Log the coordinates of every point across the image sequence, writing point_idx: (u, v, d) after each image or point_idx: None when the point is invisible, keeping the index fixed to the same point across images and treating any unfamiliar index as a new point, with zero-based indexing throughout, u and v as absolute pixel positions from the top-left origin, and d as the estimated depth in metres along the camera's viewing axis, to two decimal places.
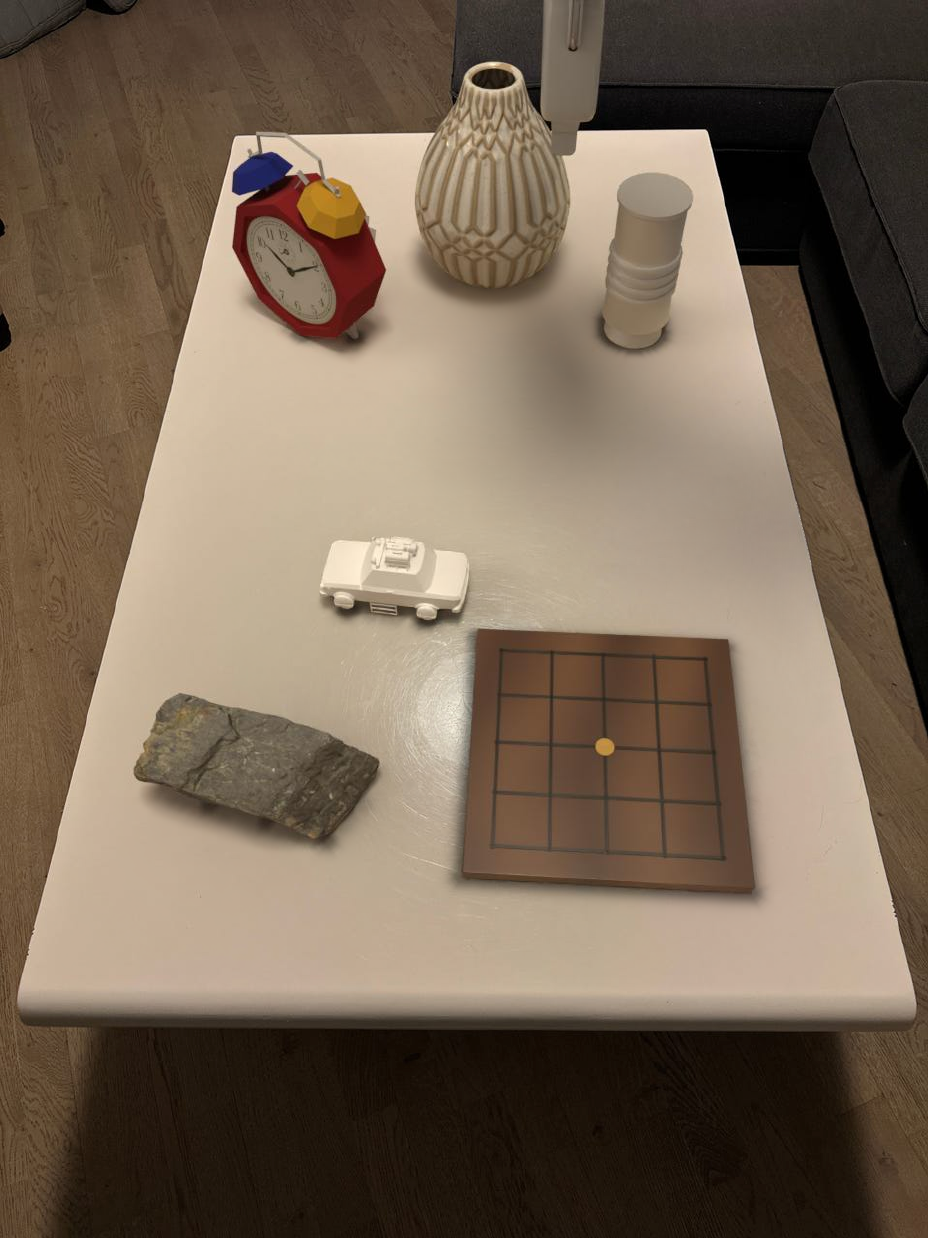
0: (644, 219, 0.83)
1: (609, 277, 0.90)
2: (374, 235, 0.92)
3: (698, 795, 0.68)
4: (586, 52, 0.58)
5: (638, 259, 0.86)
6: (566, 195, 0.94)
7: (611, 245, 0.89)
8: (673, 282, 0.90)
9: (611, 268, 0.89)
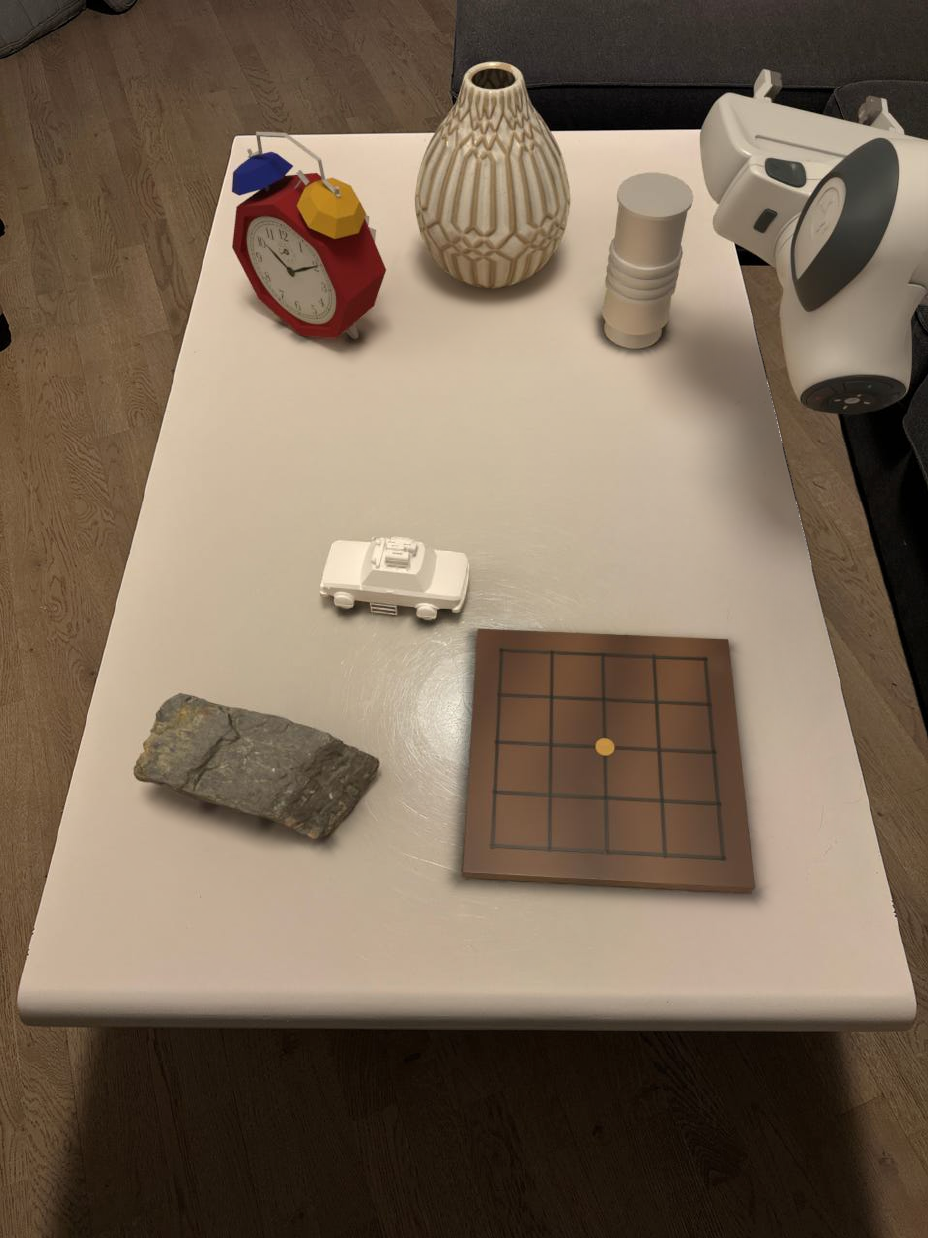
0: (644, 219, 0.83)
1: (609, 277, 0.90)
2: (374, 235, 0.92)
3: (698, 795, 0.68)
4: None
5: (638, 259, 0.86)
6: (566, 195, 0.94)
7: (611, 245, 0.89)
8: (673, 282, 0.90)
9: (611, 268, 0.89)
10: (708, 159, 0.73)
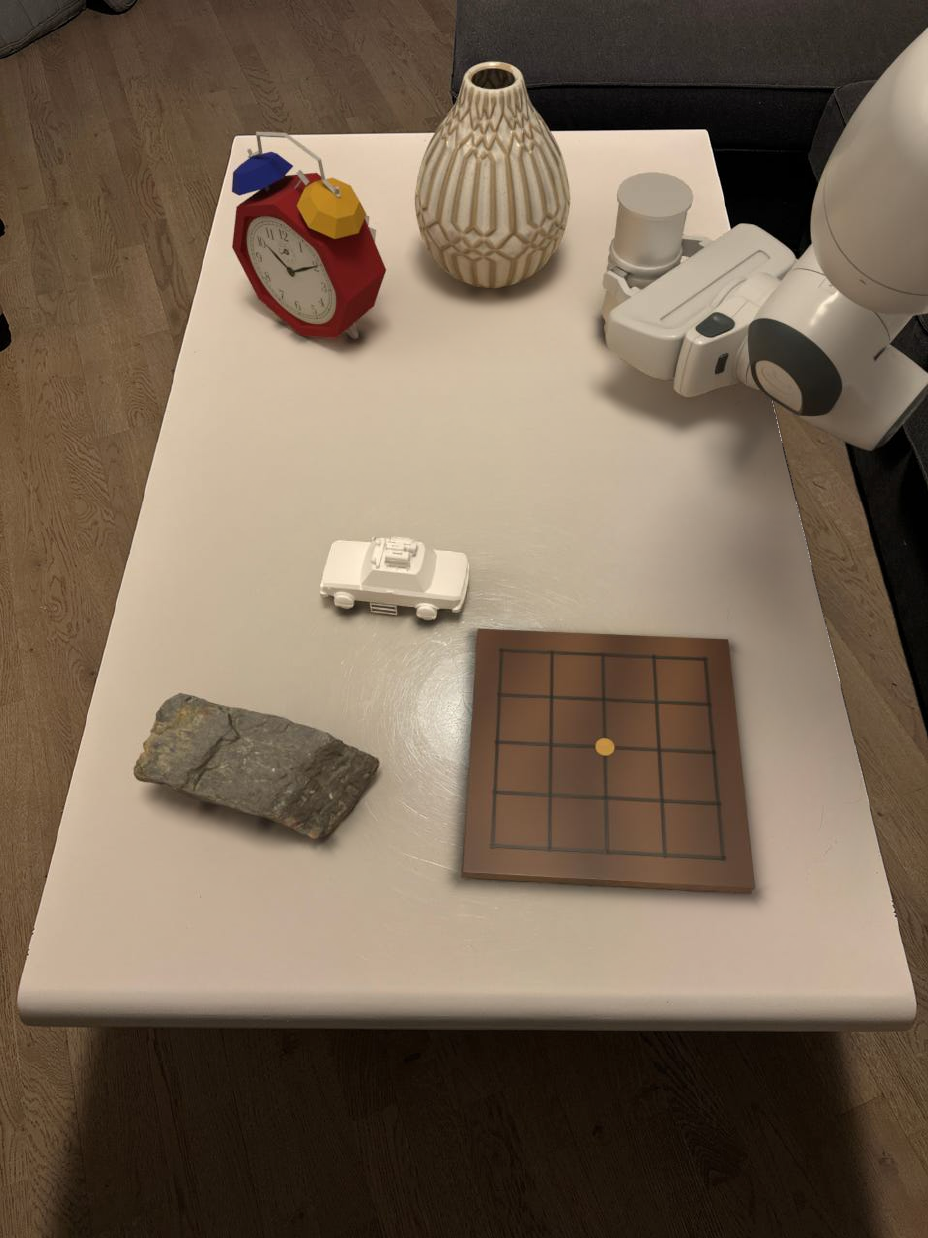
0: (644, 219, 0.83)
1: None
2: (374, 235, 0.92)
3: (698, 795, 0.68)
4: None
5: (638, 259, 0.86)
6: (566, 195, 0.94)
7: (611, 245, 0.89)
8: None
9: (611, 268, 0.89)
10: (639, 360, 0.84)
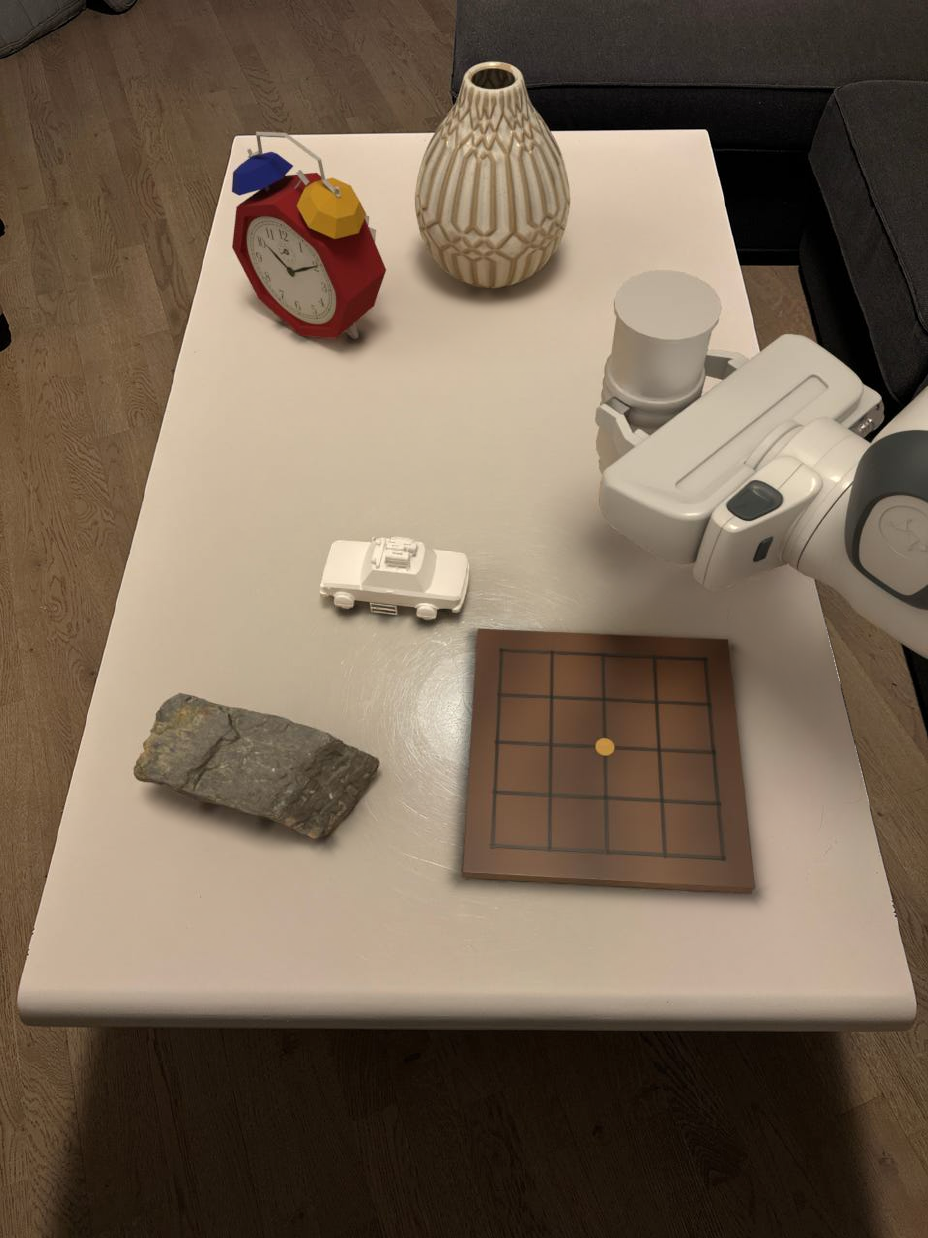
0: (651, 342, 0.59)
1: None
2: (374, 235, 0.92)
3: (698, 795, 0.68)
4: None
5: (644, 390, 0.62)
6: (566, 195, 0.94)
7: (607, 366, 0.65)
8: None
9: (607, 397, 0.65)
10: (645, 539, 0.59)
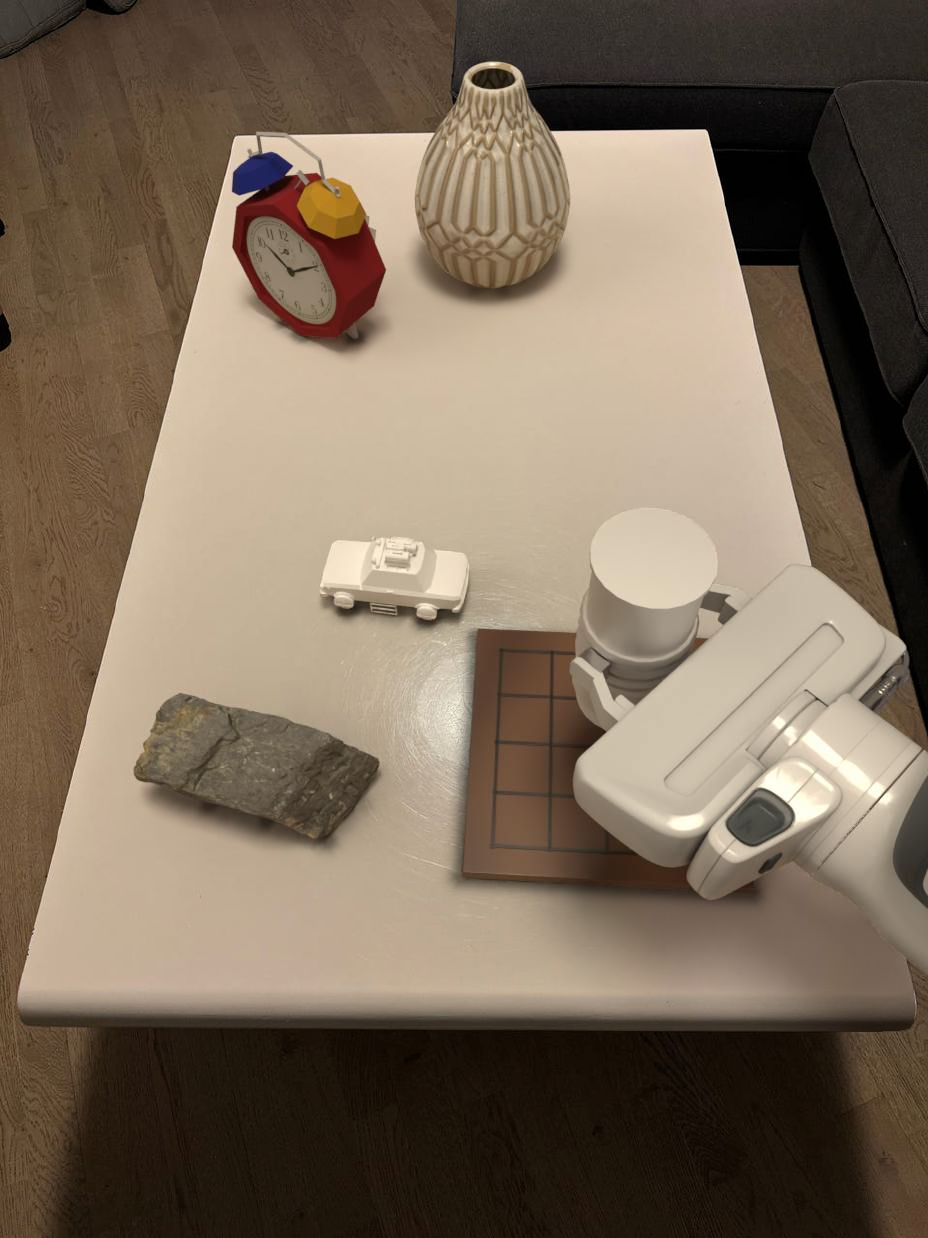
0: (635, 608, 0.49)
1: (580, 650, 0.56)
2: (374, 235, 0.92)
3: None
4: None
5: (626, 648, 0.52)
6: (566, 195, 0.94)
7: (583, 608, 0.55)
8: None
9: (583, 643, 0.55)
10: (628, 840, 0.50)
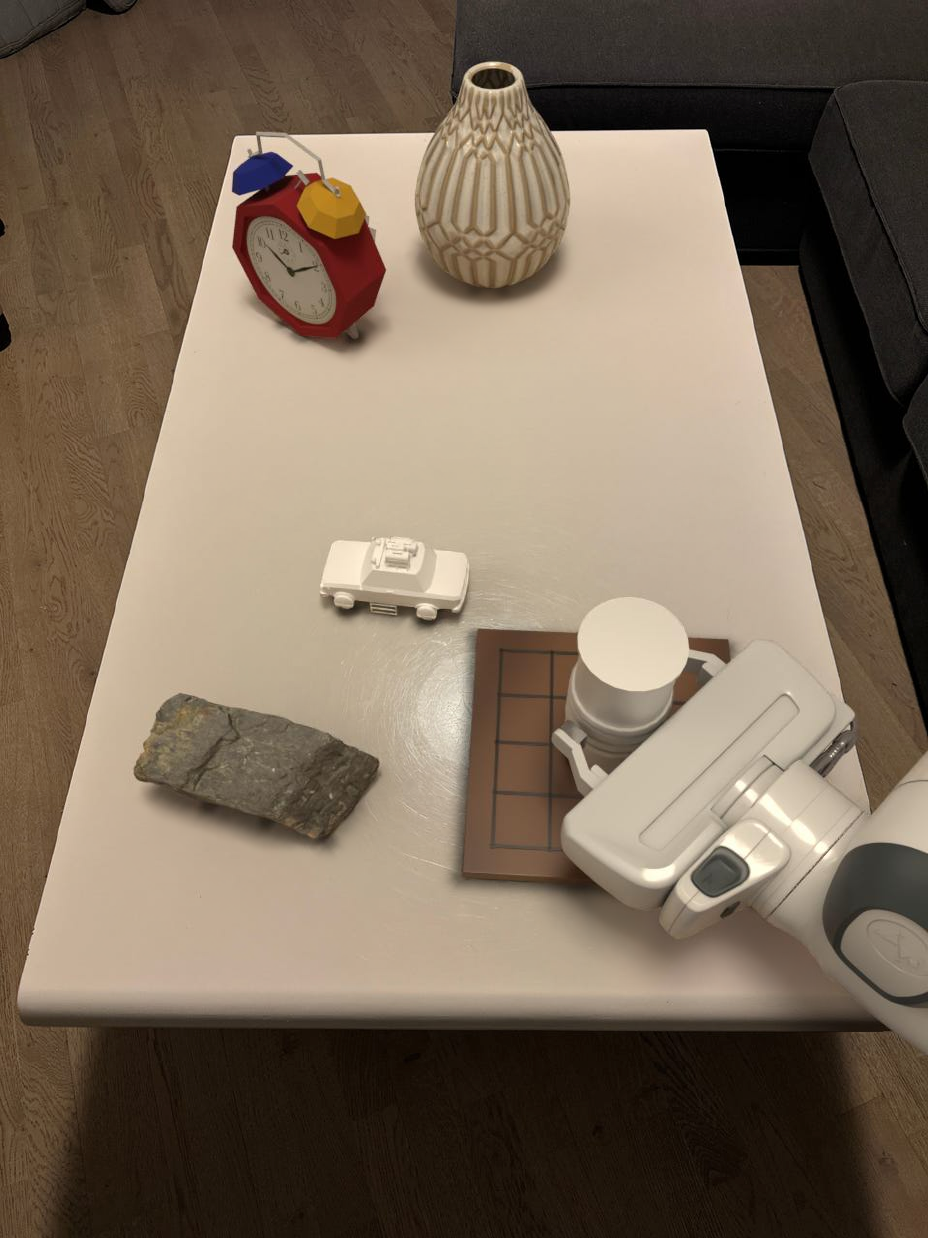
0: (616, 690, 0.56)
1: (569, 717, 0.63)
2: (374, 235, 0.92)
3: None
4: None
5: (609, 720, 0.59)
6: (566, 195, 0.94)
7: (571, 681, 0.62)
8: None
9: (572, 711, 0.62)
10: (608, 886, 0.57)
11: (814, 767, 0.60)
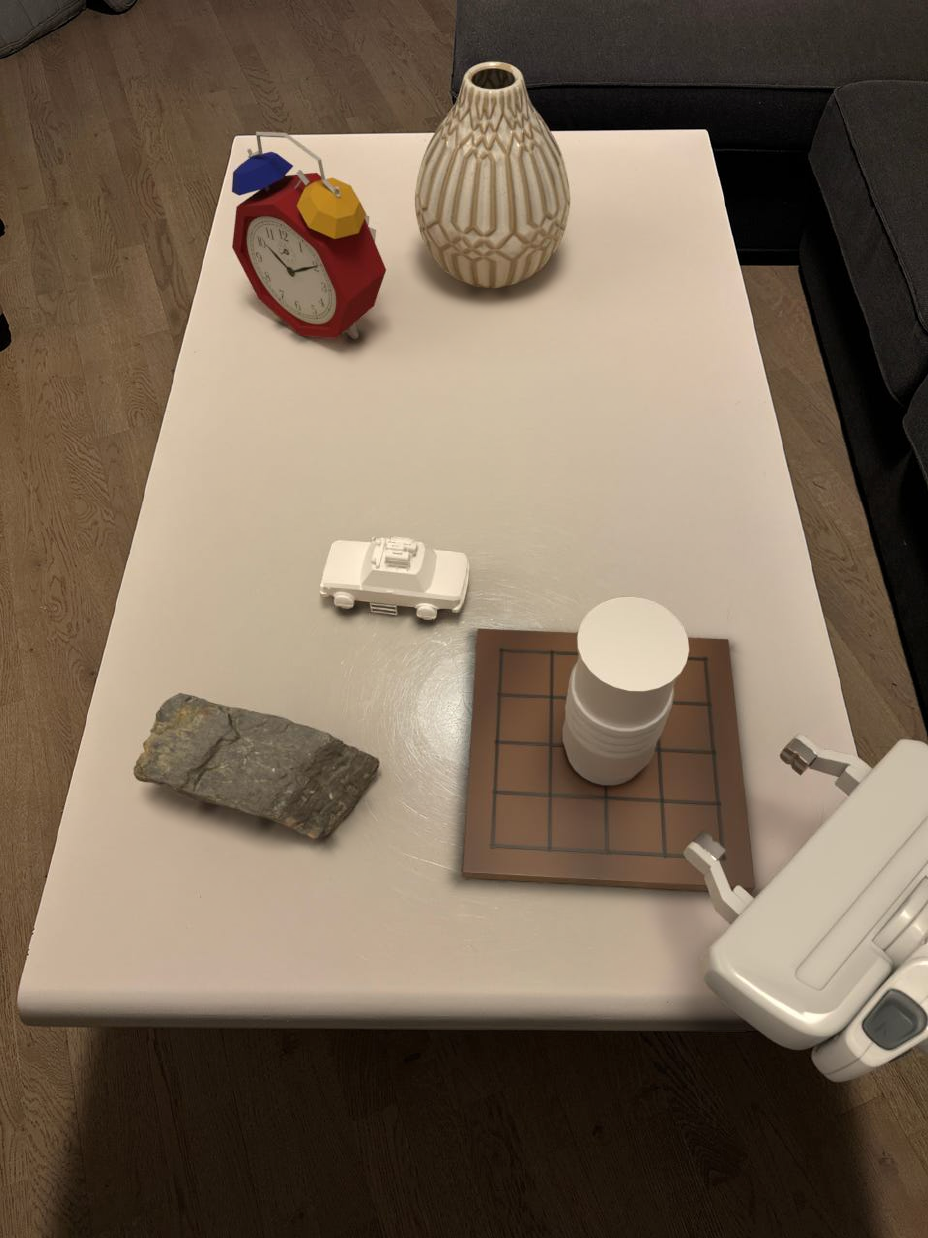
0: (616, 689, 0.56)
1: (569, 717, 0.63)
2: (374, 235, 0.92)
3: (698, 795, 0.68)
4: None
5: (609, 720, 0.59)
6: (566, 195, 0.94)
7: (571, 681, 0.62)
8: (661, 729, 0.63)
9: (572, 711, 0.62)
10: (758, 1025, 0.52)
11: None
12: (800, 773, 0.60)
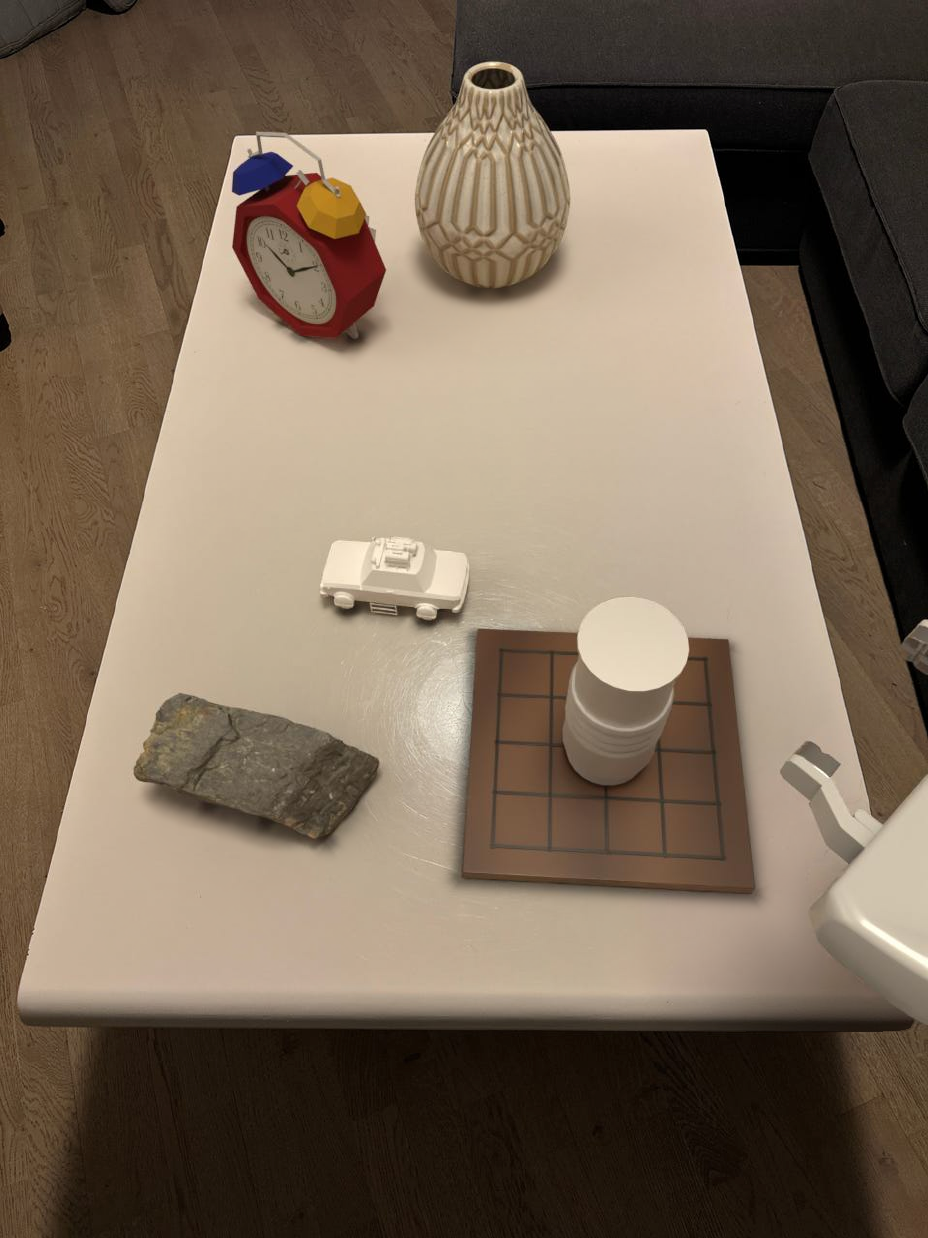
0: (616, 689, 0.56)
1: (569, 717, 0.63)
2: (374, 235, 0.92)
3: (698, 795, 0.68)
4: None
5: (609, 720, 0.59)
6: (566, 195, 0.94)
7: (571, 681, 0.62)
8: (661, 729, 0.63)
9: (572, 711, 0.62)
10: (895, 996, 0.38)
11: None
12: (926, 671, 0.45)
